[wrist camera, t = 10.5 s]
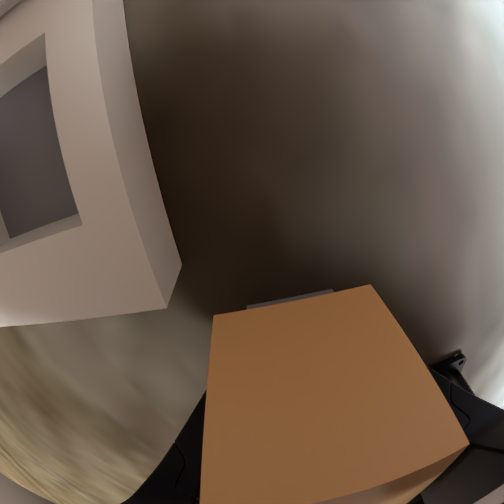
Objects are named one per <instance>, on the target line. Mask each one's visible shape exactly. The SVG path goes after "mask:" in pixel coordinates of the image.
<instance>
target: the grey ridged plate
mask: <svg viewBox="0 0 504 504" xmlns="http://www.w3.org/2000/svg"><path fill="white" fill-rule="evenodd" d="M20 1H21V0H0V17H1V16H2V15H4V14H5V13H6V12H7V11H8V10H10V9H11V8H12V7H13V6H15V5H16V4H17V3H19V2H20Z"/></svg>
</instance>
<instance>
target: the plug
mask: <svg viewBox="0 0 504 504" xmlns="http://www.w3.org/2000/svg"><path fill="white" fill-rule="evenodd" d="M469 444H470V443H469V441H468V439H467V437H466V435H465V433H464V431H463V429H462V427H461V426H460V424H459V422H458V420H457V418H456V416H455V415H454V413H453V411H452V409H451V407H450V406H449V404H448V402H447V400H446V399H445V397H444V395H443V393H442V392H441V390H440V388H439V387H438V385H437V383H436V382H435V380H434V378H433V377H432V375H431V373H430V372H429V370H428V368H427V367H426V365H425V364H424V362H423V360H422V359H421V357H420V356H419V354H418V353H417V351H416V349H415V348H414V346H413V345H412V343H411V342H410V340H409V339H408V337H407V336H406V334H405V333H404V331H403V330H402V328H401V327H400V325H399V324H398V322H397V321H396V319H395V318H394V317H393V315H392V314H391V312H390V311H389V309H388V308H387V306H386V305H385V304H384V302H383V301H382V299H381V298H380V297H379V295H378V294H377V292H376V291H375V290H374V288H373V287H372V286H371V284H368V285H364V286H360V287H356V288H351V289H347V290H343V291H338V292H334V291H333V289H328V290H324V291H319V292H314V293H310V294H305V295H300V296H295V297H290V298H285V299H280V300H274V301H269V302H264V303H258V304H253V305H247V310H242V311H236V312H230V313H224V314H218V315H214V316H213V326H212V336H211V347H210V358H209V369H208V380H207V392H206V405H205V419H204V433H203V449H202V466H201V487H200V504H406V503H408V502H409V501H411V500H412V499H413V498H414V497H415V496H417V495H418V494H419V493H420V492H421V491H423V490H424V489H425V488H426V487H427V486H428V485H429V484H431V483H432V482H433V481H434V480H435V479H436V478H437V477H438V476H439V475H440V474H441V473H442V472H443V471H444V470H445V469H446V468H447V467H448V466H449V465H450V464H451V463H452V462H453V461H454V460H455V459H456V458H457V457H458V456H459V455H460V454H461V453H462V452H463V451H464V450H465V449H466V447H467V446H468V445H469Z"/></svg>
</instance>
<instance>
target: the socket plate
mask: <svg viewBox="0 0 504 504" xmlns="http://www.w3.org/2000/svg"><path fill="white" fill-rule="evenodd" d="M181 267H182V263H181V260H180V256H179V253H178V250H177V247H176V244H175V240H174V237H173V234H172V231H171V227H170V224H169V220H168V217H167V213H166V210H165V206H164V203H163V199H162V196H161V192H160V188H159V185H158V181H157V177H156V173H155V169H154V165H153V161H152V157H151V153H150V149H149V145H148V141H147V136H146V132H145V128H144V123H143V119H142V114H141V109H140V104H139V99H138V94H137V89H136V84H135V79H134V73H133V68H132V62H131V56H130V49H129V43H128V36H127V29H126V22H125V14H124V5H123V0H21V1H20V2H19V3H17V4H16V5H15V6H13V7H12V8H11V9H10V10H8V11H7V12H6V13H5V14H4V15H2V16H1V17H0V327H4V326H18V325H30V324H41V323H52V322H62V321H71V320H80V319H89V318H98V317H106V316H114V315H122V314H129V313H137V312H144V311H151V310H158V309H165V308H167V307H168V304H169V301H170V298H171V295H172V292H173V289H174V286H175V284H176V281H177V278H178V275H179V272H180V269H181Z"/></svg>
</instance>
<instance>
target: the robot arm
mask: <svg viewBox="0 0 504 504" xmlns="http://www.w3.org/2000/svg"><path fill="white" fill-rule="evenodd" d="M465 361H466V357H465V356H464V355H463V354H461V355H458V356H456V357H454V358H452V359H450V360H447V361H445V362H443V363H440V364H438V365H436V366H433V367H431V368H430V367H428V366H427V365H426V367H427V368H428V370H429V372H430V373H431V375H432V377H433V378H434V380H435V382H436V383H437V385H438V387H439V388H440V390H441V392H442V393H443V395H444V397H445V399H446V400H447V402H448V404H449V406H450V407H451V409H452V411H453V413H454V415H455V416H456V418H457V420H458V422H459V424H460V426H461V427H462V429H463V431H464V433H465V435H466V437H467V439H468V441H469V443H470V444H469V445H468V446H467V447H466V449H465V450H464V451H463V452H462V453H461V454H460V455H459V456H458V457H457V458H456V459H455V460H454V461H453V462H452V463H451V464H450V465H449V466H448V467H447V468H446V469H445V470H444V471H443V472H442V473H441V474H440V475H439V476H438V477H437V478H436V479H435V480H434V481H433V482H432V483H431V484H429V485H428V486H427V487H426V488H425V489H424V490H423V491H421V492H420V493H419V494H418V495H417V496H415V497H414V498H413V499H412V500H411V501H409V502H408V503H406V504H504V410H503V409H501V408H499V407H497V406H495V405H493V404H491V403H489V402H487V401H485V400H483V399H480V398H479V397H477V396H475V394H474V393H473V391H472V390H471V388H470V386H469V385H468V383H467V382H466V380H465V379H464V377H463V376H462V374H461V371H462V368H463V366H464V364H465ZM206 392H207V389H206V391H205V393H204V394H203V396H202V398H201V399H200V401H199V402H198V404H197V406H196V407H195V409H194V411H193V412H192V414H191V416H190V417H189V419H188V421H187V422H186V424H185V425H184V427H183V429H182V430H181V432H180V434H179V435H178V437H177V438H176V440H175V443H173V445H172V446H171V448H170V449H169V451H168V452H167V454H166V455H165V457H164V458H163V460H162V461H161V462H160V464H159V465H158V466H157V468H156V469H155V470H154V471H153V472H152V474H151V475H150V476H149V477H148V478H147V480H146V481H145V482H144V483H143V484H142V485H141V486H140V488H139V489H138V490H137V491H136V492H135V493H134V494H133V495H132V496H131V497H130V498H129V499H127V500H126V501H124V502H123V503H121V504H200V487H201V466H202V449H203V433H204V419H205V405H206Z"/></svg>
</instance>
